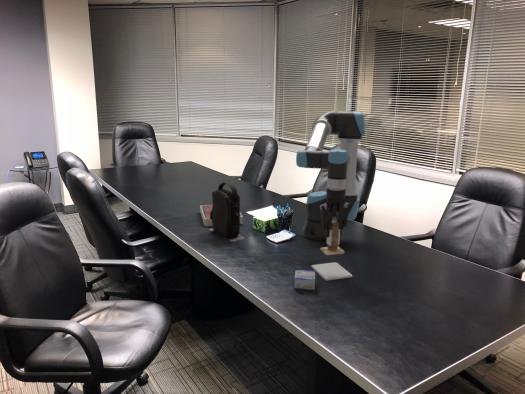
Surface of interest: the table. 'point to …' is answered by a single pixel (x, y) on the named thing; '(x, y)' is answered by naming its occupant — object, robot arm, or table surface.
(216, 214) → the shoulder bag
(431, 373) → the table surface
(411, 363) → the table surface
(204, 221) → the product packaging
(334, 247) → the wooden stamp
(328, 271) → the mat
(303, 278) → the medicine box
